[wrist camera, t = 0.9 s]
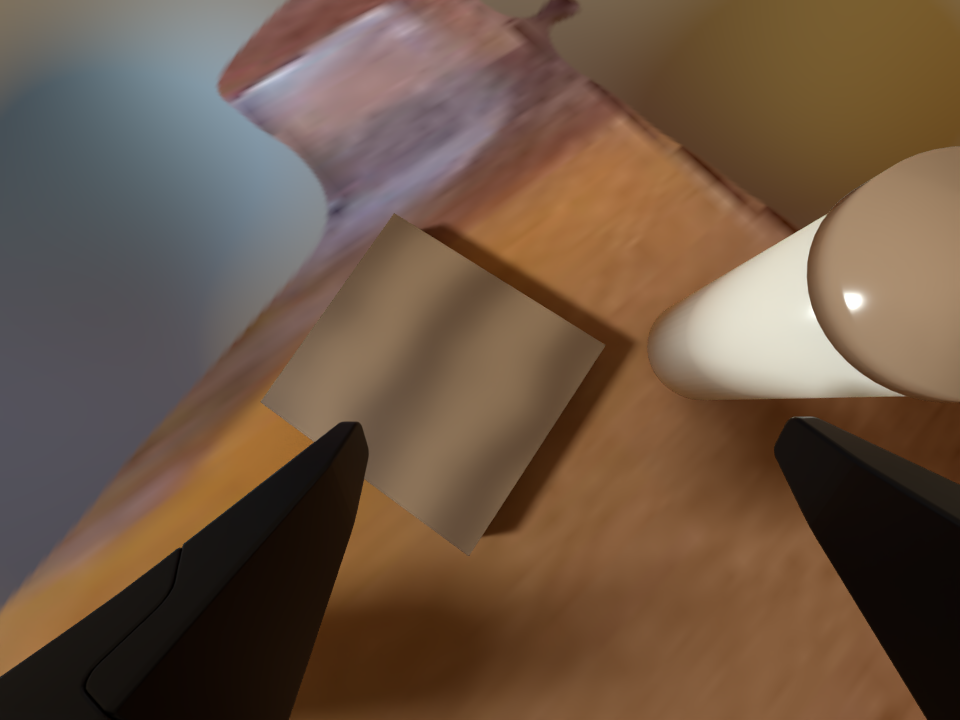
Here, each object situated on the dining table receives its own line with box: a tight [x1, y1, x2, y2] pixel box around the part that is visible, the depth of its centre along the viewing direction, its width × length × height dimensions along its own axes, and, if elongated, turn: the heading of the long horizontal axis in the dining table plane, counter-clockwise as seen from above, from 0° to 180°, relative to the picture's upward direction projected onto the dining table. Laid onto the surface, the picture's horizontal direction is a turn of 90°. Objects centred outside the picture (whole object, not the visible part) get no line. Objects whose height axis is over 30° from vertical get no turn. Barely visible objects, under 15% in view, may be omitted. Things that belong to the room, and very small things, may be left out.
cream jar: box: [647, 146, 960, 403], centre depth 15 cm, size 6×6×13 cm
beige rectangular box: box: [261, 213, 605, 556], centre depth 21 cm, size 14×13×2 cm
